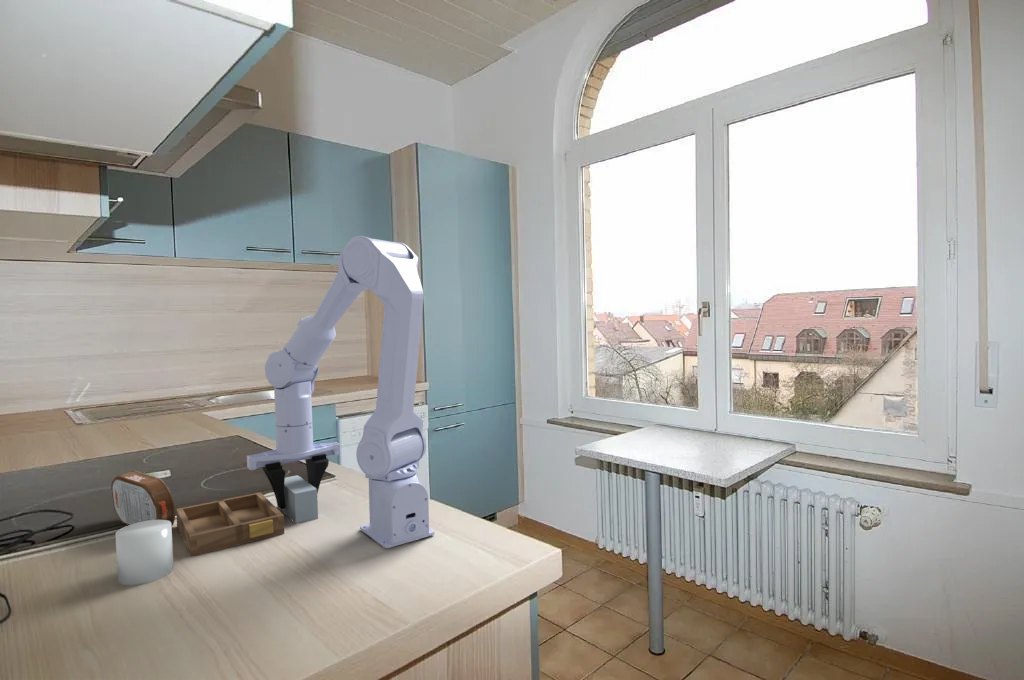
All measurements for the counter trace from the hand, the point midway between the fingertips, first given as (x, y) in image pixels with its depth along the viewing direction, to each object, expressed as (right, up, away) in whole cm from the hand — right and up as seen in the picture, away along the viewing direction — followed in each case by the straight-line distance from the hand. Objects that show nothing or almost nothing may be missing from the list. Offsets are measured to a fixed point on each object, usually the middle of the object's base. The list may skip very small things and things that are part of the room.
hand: (297, 503), depth 93 cm
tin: (-22, -2, -6) cm, 23 cm away
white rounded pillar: (-11, -3, -21) cm, 24 cm away
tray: (-8, -2, -7) cm, 11 cm away
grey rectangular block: (0, -2, 0) cm, 2 cm away
